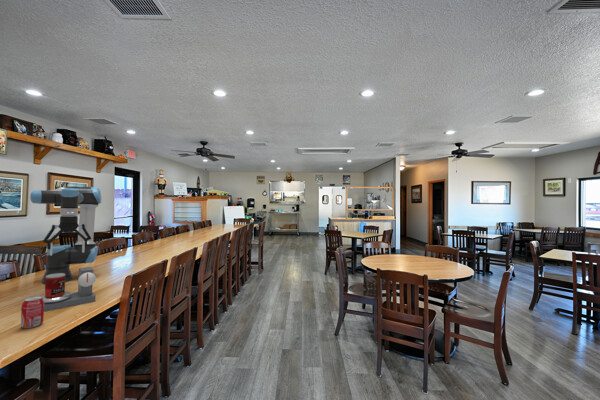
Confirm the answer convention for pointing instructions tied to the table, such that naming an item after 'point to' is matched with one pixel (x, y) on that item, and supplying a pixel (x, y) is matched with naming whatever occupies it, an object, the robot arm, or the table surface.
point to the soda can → (32, 312)
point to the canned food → (54, 285)
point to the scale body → (78, 297)
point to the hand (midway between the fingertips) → (67, 253)
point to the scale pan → (65, 296)
